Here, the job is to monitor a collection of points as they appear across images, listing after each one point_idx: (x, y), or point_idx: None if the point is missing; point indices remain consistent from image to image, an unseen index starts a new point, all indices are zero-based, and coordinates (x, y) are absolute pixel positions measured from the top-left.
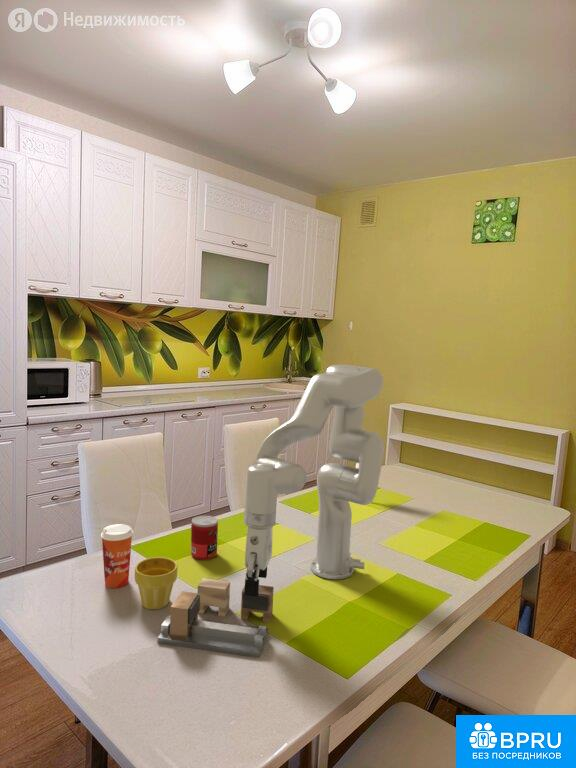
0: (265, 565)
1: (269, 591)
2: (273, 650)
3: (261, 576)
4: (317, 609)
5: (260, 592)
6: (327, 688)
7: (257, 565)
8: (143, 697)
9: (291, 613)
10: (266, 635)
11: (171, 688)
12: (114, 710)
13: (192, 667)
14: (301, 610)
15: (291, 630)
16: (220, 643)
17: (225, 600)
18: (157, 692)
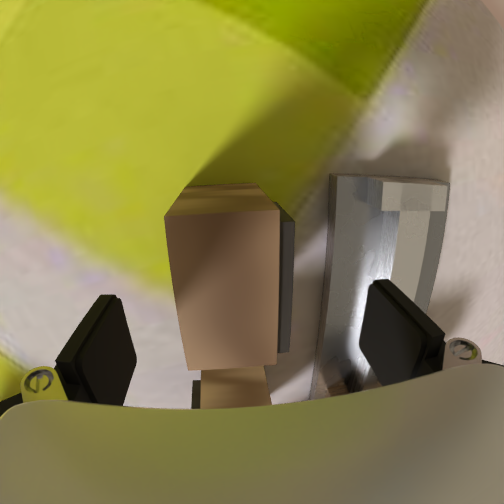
0: (501, 390)
1: (236, 226)
2: (408, 140)
3: (123, 324)
4: (108, 28)
5: (263, 277)
6: (477, 22)
7: (112, 401)
8: (494, 341)
9: (160, 110)
10: (350, 174)
11: (490, 319)
12: (500, 355)
13: (458, 316)
14: (127, 78)
15: (287, 86)
16: (419, 299)
17: (263, 379)
18: (492, 331)
